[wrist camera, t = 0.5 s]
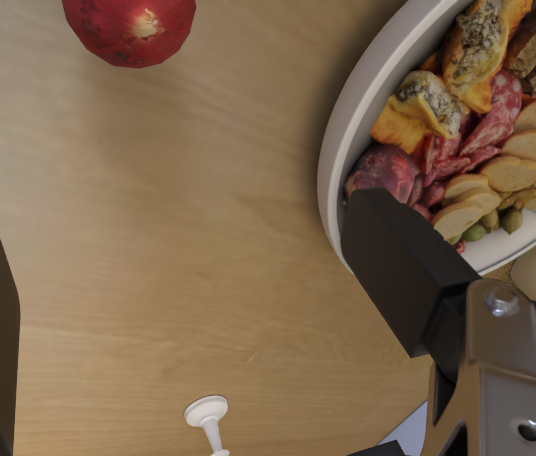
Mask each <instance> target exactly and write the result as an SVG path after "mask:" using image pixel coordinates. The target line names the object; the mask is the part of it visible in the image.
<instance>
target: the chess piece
mask: <svg viewBox="0 0 536 456" xmlns="http://www.w3.org/2000/svg"><path fill="white" fill-rule="evenodd" d="M227 410H228V405H227V400H226V399H225V398H224V397H222V396H217V395H214V396H207V397H204V398H201V399H199V400H197V401H195V402H193V403H192V404H191V405H190V406H188V408H187V409H186V410H185V412H184V417H185V419H186V422H187V423H188V424H189V425H191V426H195V427H202V428H203V429H204V431H205V433H206V435H207V437H208V440H209V442H210V444H211V447H212V450H213V452H214V453H213V454H212V455H211V456H229V451H228V450H223V449H222V444H221V439H220V433H219V427H218V422H219V420H220V419H221V418H222V417H223V416H224V415H225V414H226V412H227Z"/></svg>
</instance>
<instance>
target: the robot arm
mask: <svg viewBox="0 0 536 456" xmlns="http://www.w3.org/2000/svg"><path fill="white" fill-rule="evenodd" d="M340 246H341V252H342V255H343V257H344V260H345V261H346V263H347V264H348V266H349V267H350V269H351V270H352V272H353V273H354V275H355V276H356V278H357V279H358V281H359V282H360V284H361V285H362V287H363V288H364V290H365V291H366V292H367V294H368V295H369V297H370V298H371V300H372V301H373V303H374V304H375V306H376V307H377V309H378V310H379V312H380V313H381V315H382V316H383V318H384V319H385V321H386V322H387V324H388V325H389V327H390V328H391V330H392V331H393V333H394V334H395V336H396V337H397V338H398V340H399V341H400V343H401V344H402V346H403V347H404V349H405V350H406V352H407V353H408V355H409V356H410V358H414V357H418V356H422V355H425V354H430V355H431V357H432V358H433V360H434V361H433V363H432V365H431V368H430V377H429V391H428V406H427V419H426V432H425V433H426V434H425V439H424V444H423V448H422V451H421V454H420V456H536V301H535V300H530V299H529V297H528V296H527V295H526V294H525V293H523V292H522V291H521V290H519V289H518V288H516V287H515V286H513V285H511V284H509V283H506V282H504V281H501V280H496V279H489V278H485V279H483V278H482V277H481V276H480V275H479V274H478V273H477V272H476V271H475V270H474V269H473V268H472V267H471V265H470V264H469V263H468V262H467V261H466V260H465V259H464V258H463V257H462V256H461V255H460V254H459V253H458V252H457V251H456V250H455V249H454V248H453V246H452V245H451V244H450V243H449V242H448V241H447V240H446V241H445V240H444V237H443V236H442V235H441V234H440V233H439V232H438V231H437V230H434V226H433V225H432V224H431V223H430V222H429V221H428V220H427V219H426V218H425V217H424V216H423V215H422V214H421V213H420V212H418V211H416V210H415V209H413V208H411V207H410V206H408V205H406V204H404V203H400V202H399V201H398V200H397V199H396V198H395V197H394V196H393V195H392V194H391V193H390V192H389V191H388V189H386V188H385V187H383V186H378V187H370V188H363V189H355V190H353V191H352V193H351V195H350V198H349V202H348V206H347V210H346V215H345V219H344V224H343V228H342V232H341V237H340ZM19 333H20V303H19V297H18V292H17V288H16V285H15V282H14V279H13V276H12V273H11V270H10V267H9V264H8V261H7V258H6V254H5V251H4V248H3V245H2V242H1V240H0V456H13V443H14V424H15V406H16V388H17V369H18V351H19ZM347 456H409V455H405V454H404V452H403V450H402V449H401V447H400V445H399V443H398V442H397V440H394V441H390V442H387V443H384V444H381V445H378V446H375V447H371V448H368V449H365V450H362V451H359V452H356V453H353V454H349V455H347Z"/></svg>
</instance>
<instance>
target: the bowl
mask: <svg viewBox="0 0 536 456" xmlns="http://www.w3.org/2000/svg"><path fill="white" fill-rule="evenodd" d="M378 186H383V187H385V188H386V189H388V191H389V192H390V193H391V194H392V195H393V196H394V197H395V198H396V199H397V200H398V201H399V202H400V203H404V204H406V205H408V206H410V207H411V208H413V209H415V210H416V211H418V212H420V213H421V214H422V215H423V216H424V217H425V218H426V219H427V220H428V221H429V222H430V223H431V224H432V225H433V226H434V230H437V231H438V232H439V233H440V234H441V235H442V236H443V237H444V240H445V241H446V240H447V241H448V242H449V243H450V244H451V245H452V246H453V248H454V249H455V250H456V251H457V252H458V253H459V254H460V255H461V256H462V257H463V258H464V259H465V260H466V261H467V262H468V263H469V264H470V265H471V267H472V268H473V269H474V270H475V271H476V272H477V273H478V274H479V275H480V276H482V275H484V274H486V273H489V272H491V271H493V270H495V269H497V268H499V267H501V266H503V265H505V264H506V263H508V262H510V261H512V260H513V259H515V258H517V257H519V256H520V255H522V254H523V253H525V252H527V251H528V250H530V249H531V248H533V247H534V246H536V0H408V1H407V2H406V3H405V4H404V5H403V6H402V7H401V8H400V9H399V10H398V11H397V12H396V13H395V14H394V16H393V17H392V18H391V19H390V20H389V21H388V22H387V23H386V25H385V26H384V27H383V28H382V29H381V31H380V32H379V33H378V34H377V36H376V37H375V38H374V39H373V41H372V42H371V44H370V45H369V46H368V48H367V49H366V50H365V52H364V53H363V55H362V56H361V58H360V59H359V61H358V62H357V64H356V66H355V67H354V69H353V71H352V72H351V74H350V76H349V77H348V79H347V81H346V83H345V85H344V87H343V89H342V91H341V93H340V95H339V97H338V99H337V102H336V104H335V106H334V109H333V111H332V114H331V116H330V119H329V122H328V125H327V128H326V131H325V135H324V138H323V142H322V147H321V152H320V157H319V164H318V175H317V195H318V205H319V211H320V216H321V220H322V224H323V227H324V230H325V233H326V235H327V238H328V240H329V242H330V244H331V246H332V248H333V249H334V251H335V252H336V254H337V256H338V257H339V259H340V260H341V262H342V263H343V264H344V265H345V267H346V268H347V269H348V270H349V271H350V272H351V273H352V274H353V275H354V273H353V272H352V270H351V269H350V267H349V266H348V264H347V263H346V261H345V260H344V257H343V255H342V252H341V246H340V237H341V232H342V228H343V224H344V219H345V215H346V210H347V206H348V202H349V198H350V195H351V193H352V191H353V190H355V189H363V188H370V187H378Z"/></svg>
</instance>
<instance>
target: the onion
mask: <svg viewBox="0 0 536 456" xmlns="http://www.w3.org/2000/svg"><path fill="white" fill-rule="evenodd" d="M62 3H63V7H64V12H65V16H66V20H67V22H68V23H69V25H70V27H71V28H72V29H73V31H74V32H75V34H76V35H77V36H78V38H79V39H80V41H81V42H82V43H83V45H84V46H85V47H86V49H87V50H89V51H90V52H92V53H93V54H95V55H97V56H98V57H100V58H101V59H103V60H104V61H106V62H108V63H109V64H111V65H113V66H119V67H129V68H139V69H140V68H144V67H148V66H152V65H156V64H160V63H162V62H163V61H165V60H166V59H168V58H169V57H170V56H172V55H173V54H175V53H176V52H178V51H179V49H180V47H181V46H182V44H183V43H184V41H185V40H186V38H187V36H188V35H189V33H190V29H191V25H192V21H193V17H194V14H195V10H196V4H195V0H62Z"/></svg>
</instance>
